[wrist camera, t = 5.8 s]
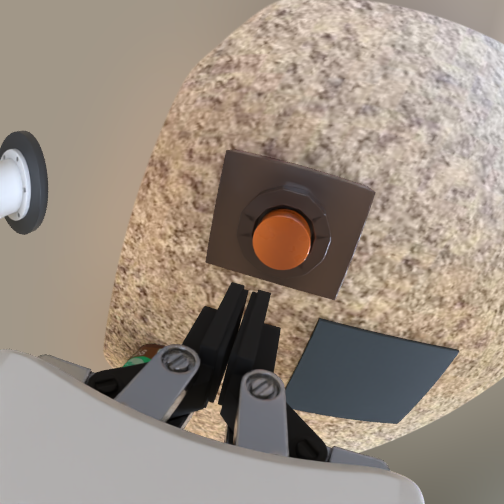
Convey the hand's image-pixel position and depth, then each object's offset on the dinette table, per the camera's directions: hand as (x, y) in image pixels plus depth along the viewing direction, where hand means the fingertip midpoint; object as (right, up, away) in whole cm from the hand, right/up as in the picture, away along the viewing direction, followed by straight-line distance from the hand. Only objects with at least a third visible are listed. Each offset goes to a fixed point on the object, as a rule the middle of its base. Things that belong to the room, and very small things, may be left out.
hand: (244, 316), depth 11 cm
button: (+3, +4, +9) cm, 10 cm away
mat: (+15, -14, +18) cm, 28 cm away
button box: (+3, +6, +13) cm, 15 cm away
